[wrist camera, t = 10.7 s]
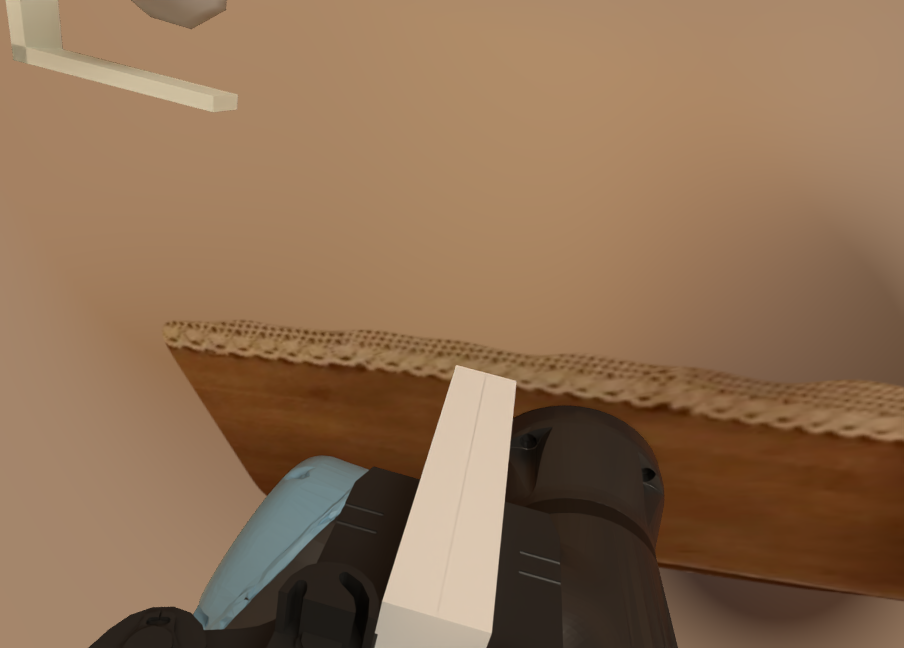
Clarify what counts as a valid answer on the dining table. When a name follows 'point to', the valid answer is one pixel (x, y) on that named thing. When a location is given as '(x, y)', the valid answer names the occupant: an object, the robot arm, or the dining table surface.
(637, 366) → the dining table surface
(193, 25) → the flask
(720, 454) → the dining table surface
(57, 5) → the u-shaped wooden frame
